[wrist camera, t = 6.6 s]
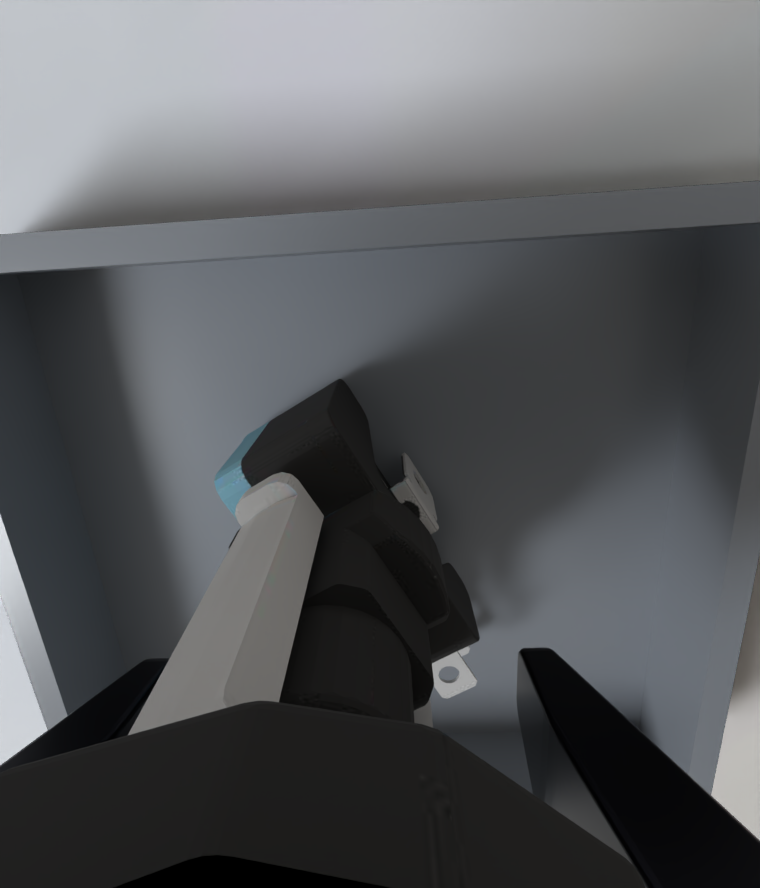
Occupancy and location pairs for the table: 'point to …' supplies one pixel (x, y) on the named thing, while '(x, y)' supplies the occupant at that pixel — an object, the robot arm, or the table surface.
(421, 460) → the tray
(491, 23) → the table surface
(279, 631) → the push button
